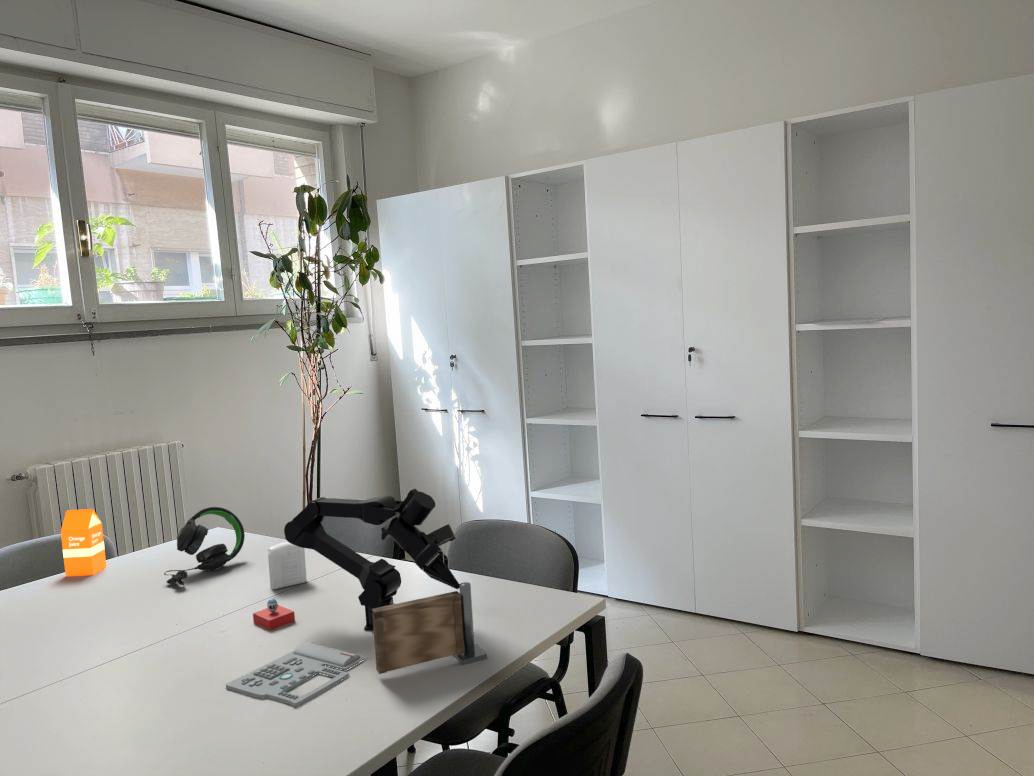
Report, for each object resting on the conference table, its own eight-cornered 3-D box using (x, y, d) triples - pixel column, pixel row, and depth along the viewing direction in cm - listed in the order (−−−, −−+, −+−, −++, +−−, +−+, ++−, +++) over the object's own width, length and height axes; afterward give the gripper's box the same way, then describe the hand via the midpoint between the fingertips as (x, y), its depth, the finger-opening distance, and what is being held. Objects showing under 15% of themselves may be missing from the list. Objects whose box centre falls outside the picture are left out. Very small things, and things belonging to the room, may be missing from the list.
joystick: (295, 622, 190) (292, 597, 190) (270, 631, 186) (267, 606, 185) (278, 615, 196) (276, 591, 195) (253, 624, 191) (251, 599, 190)
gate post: (477, 647, 169) (472, 577, 167) (487, 658, 163) (483, 585, 162) (451, 654, 166) (446, 582, 165) (461, 664, 161) (456, 591, 160)
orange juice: (93, 575, 238) (86, 512, 236) (65, 576, 238) (58, 513, 236) (107, 566, 245) (100, 505, 244) (79, 568, 246) (73, 507, 244)
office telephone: (310, 636, 176) (375, 651, 166) (311, 647, 176) (376, 663, 166) (224, 678, 157) (291, 699, 146) (225, 690, 157) (292, 712, 146)
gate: (460, 649, 165) (456, 590, 164) (464, 653, 163) (460, 594, 162) (376, 670, 158) (371, 608, 156) (379, 674, 156) (374, 612, 154)
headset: (185, 607, 229) (247, 539, 250) (202, 597, 220) (265, 527, 241) (139, 567, 225) (207, 501, 246) (154, 555, 216) (223, 487, 237)
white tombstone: (304, 578, 223) (300, 537, 222) (309, 582, 219) (305, 540, 218) (268, 587, 217) (264, 544, 216) (272, 591, 214) (269, 547, 212)
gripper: (430, 506, 172) (480, 555, 168) (439, 520, 190) (484, 564, 186) (394, 542, 169) (444, 593, 166) (406, 553, 187) (451, 599, 183)
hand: (457, 586), depth 175 cm, fingers open, 9 cm apart
